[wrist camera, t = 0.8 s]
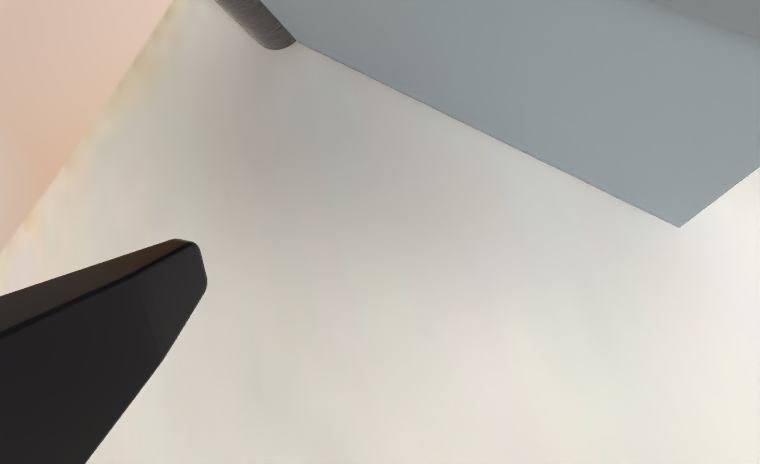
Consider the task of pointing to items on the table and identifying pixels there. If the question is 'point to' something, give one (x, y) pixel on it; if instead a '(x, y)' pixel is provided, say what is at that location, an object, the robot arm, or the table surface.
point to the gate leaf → (572, 82)
